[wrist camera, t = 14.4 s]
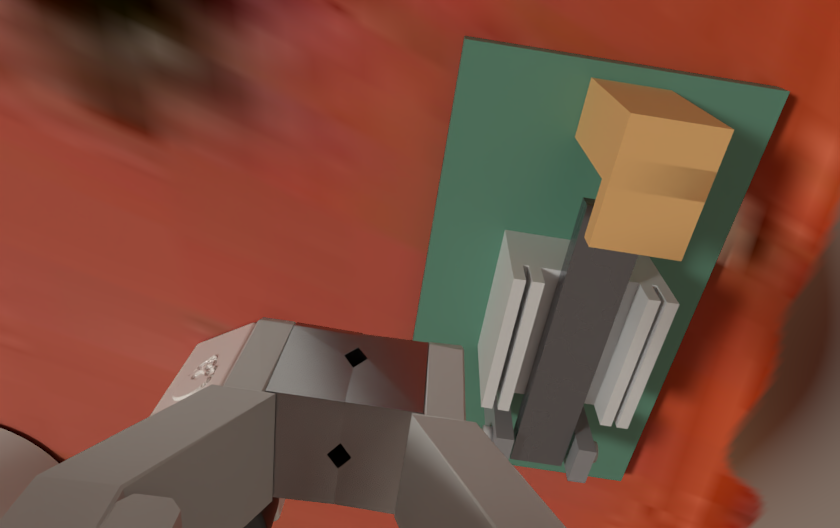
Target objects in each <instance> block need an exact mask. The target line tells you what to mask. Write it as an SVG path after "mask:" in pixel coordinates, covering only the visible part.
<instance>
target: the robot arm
mask: <svg viewBox="0 0 840 528" xmlns="http://www.w3.org/2000/svg"><path fill="white" fill-rule="evenodd" d="M272 497H277V498H285V499H294V500H303V501H312V502H321V503H330V504H334V503H335V504H337V505H343V506H349V507H355V508H361V509H367V510H372V511H378V512H384V513H390V514H395V516H394V517H395V520H396V522H397V524H398V526H399V528H566V527H565V526H564V525H563V524H562V522H561V521H560V520H559V519H558V518H557V517H556V515H555V514H554V513H553V512H552V511H551V510H550V508H549V507H548V506H547V505H546V504H545V502H544V501H543V500H542V499H541V498H540V497H539V495H538V494H537V493H536V492H535V491H534V490H533V488H532V487H531V486H530V485H529V484H528V483H527V481H526V480H525V479H524V478H523V477H522V476H521V474H520V473H519V472H518V471H517V470H516V469H515V467H514V466H513V465H512V464H511V463H510V462H509V460H508V459H507V458H506V457H505V456H504V455H503V453H502V452H501V451H500V450H499V449H498V448H497V446H496V445H495V444H494V443H493V442H492V440H491V439H490V438H489V437H488V436H487V435H486V433H485V432H484V431H483V430H482V429H481V428H480V426H479V425H478V424H477V423H476V422H471V421H466V409H465V368H464V349H463V347H462V346H461V345H452V344H443V343H434V342H429V344H428V342H420V341H412V340H405V339H397V338H390V337H382V336H374V335H367V334H363V333H359V332H353V331H347V330H341V329H335V328H329V327H323V326H317V325H311V324H305V323H299V322H297V323H295V322H293V321H286V320H279V319H272V318H266V317H263V318H262V319H260V320H259V321H257V323H256V325H255V327H254V329H253V330H252V332H251V334H250V336H249V338H248V340H247V341H246V343H245V345H244V347H243V349H242V350H241V352H240V354H239V356H238V358H237V360H236V361H235V363H234V365H233V367H232V369H231V370H230V372H229V374H228V376H227V378H226V380H225V381H224V383H223V385H222V386H221V385H213V384H211V385H209V386H207V387H206V388H204V389H202V390H200V391H198V392H196V393H194V394H192V395H190V396H188V397H186V398H184V399H183V400H181V401H179V402H177V403H175V404H173V405H171V406H169V407H167V408H165V409H163V410H161V411H159V412H158V413H156V414H154V415H152V416H150V417H148V418H146V419H144V420H142V421H140V422H138V423H136V424H134V425H133V426H131V427H129V428H127V429H125V430H123V431H121V432H119V433H117V434H115V435H113V436H111V437H109V438H108V439H106V440H104V441H102V442H100V443H98V444H96V445H94V446H92V447H90V448H88V449H86V450H84V451H83V452H81V453H79V454H77V455H75V456H73V457H71V458H69V459H67V460H65V461H63V462H61V463H60V464H59V463H58V462H57V461H56V460H55V459H53V458H52V457H51V456H50V455H49V454H47V453H46V452H45V451H43V450H42V449H41V448H39V447H38V446H36V445H35V444H33V443H31V442H30V441H28V440H26V439H24V438H22V437H20V436H18V435H16V434H14V433H12V432H10V431H7V430H5V429H2V428H0V528H244V527H245V526H246V525H247V524H248V523H249V522H250V521H251V520H252V519H253V518H254V517H255V516H257V515H258V514H259V513H260V512H261V511H262V510H263V509H264V508H265V507H266V506H267V505H268V504H269V503H270V502H272Z"/></svg>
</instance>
